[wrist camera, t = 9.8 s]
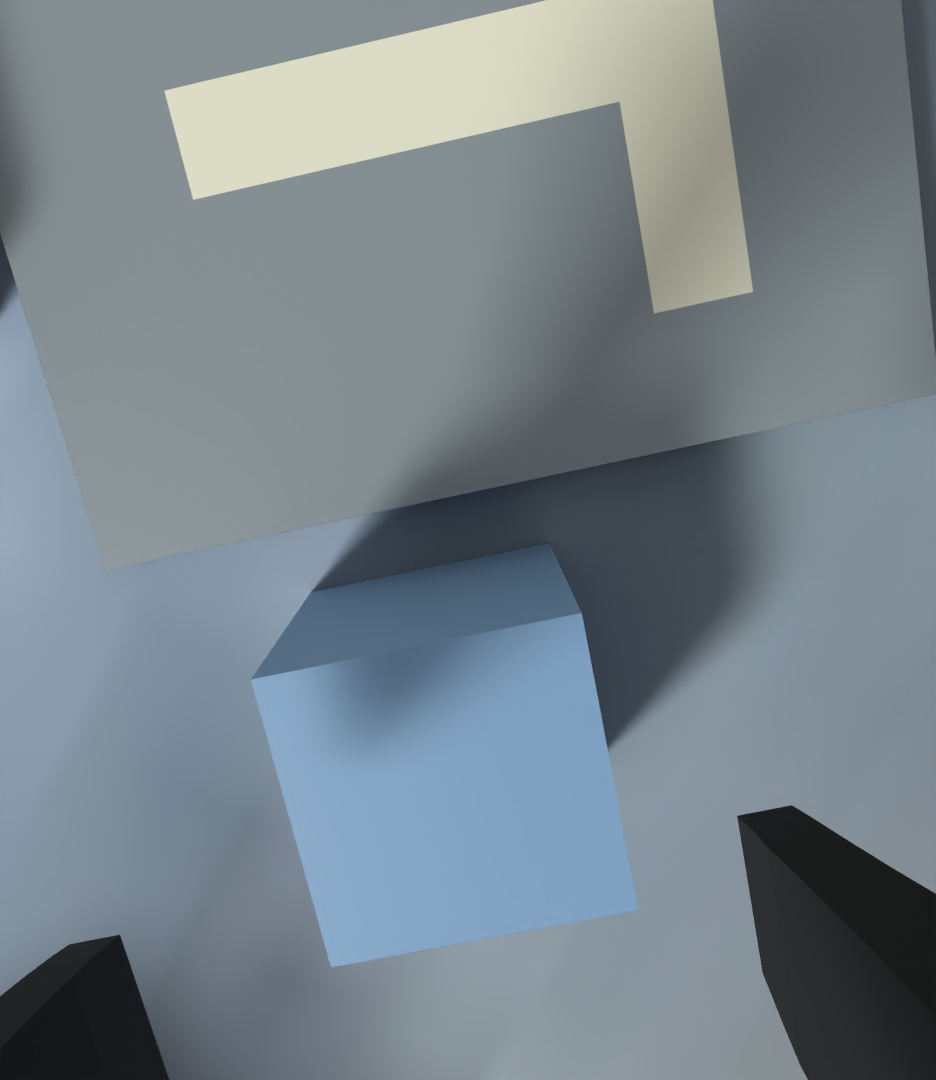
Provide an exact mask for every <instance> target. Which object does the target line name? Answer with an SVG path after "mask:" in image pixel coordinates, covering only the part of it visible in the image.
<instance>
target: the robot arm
mask: <svg viewBox="0 0 936 1080" xmlns="http://www.w3.org/2000/svg"><path fill="white" fill-rule="evenodd" d="M737 817H738V823H739V829H740V835H741V842H742V848H743V854H744V860H745V866H746V873H747V879H748V885H749V891H750V897H751V903H752V910H753V916H754V922H755V928H756V934H757V940H758V947H759V953H760V959H761V965H762V971H763V975H764V977H765V980H766V982H767V985H768V987H769V990H770V992H771V995H772V997H773V1000H774V1002H775V1005H776V1007H777V1010H778V1012H779V1015H780V1017H781V1020H782V1022H783V1025H784V1027H785V1029H786V1032H787V1034H788V1037H789V1039H790V1041H791V1044H792V1046H793V1049H794V1051H795V1054H796V1056H797V1058H798V1061H799V1063H800V1065H801V1067H802V1069H803V1071H804V1073H805V1075H806V1077H807V1079H808V1080H936V894H935V893H933V892H932V891H930V890H928V889H927V888H925V887H923V886H922V885H920V884H918V883H916V882H915V881H913V880H911V879H910V878H908V877H906V876H905V875H903V874H901V873H900V872H898V871H896V870H895V869H893V868H891V867H890V866H888V865H887V864H885V863H883V862H882V861H880V860H878V859H877V858H875V857H874V856H872V855H870V854H869V853H867V852H866V851H864V850H862V849H861V848H859V847H857V846H856V845H854V844H853V843H851V842H849V841H848V840H846V839H845V838H843V837H842V836H840V835H838V834H837V833H835V832H834V831H832V830H831V829H829V828H827V827H826V826H824V825H823V824H821V823H819V822H818V821H816V820H815V819H813V818H812V817H810V816H808V815H807V814H805V813H803V812H802V811H800V810H798V809H797V808H795V807H793V806H792V805H791V806H786V807H781V808H776V809H771V810H765V811H760V812H755V813H750V814H745V815H739V816H737ZM0 1080H169V1078H168V1075H167V1072H166V1069H165V1066H164V1063H163V1060H162V1058H161V1055H160V1052H159V1049H158V1046H157V1043H156V1040H155V1037H154V1034H153V1031H152V1028H151V1025H150V1022H149V1019H148V1016H147V1013H146V1010H145V1007H144V1004H143V1002H142V999H141V996H140V993H139V990H138V987H137V984H136V981H135V978H134V975H133V972H132V969H131V966H130V963H129V960H128V957H127V954H126V951H125V948H124V946H123V943H122V940H121V937H120V935H116V936H111V937H106V938H101V939H95V940H90V941H85V942H80V943H75V944H70V945H68V946H67V947H65V948H64V949H62V950H61V951H59V952H58V953H56V954H55V955H53V956H52V957H51V958H49V959H48V960H46V961H45V962H44V963H42V964H41V965H40V966H38V967H37V968H36V969H34V970H33V971H32V972H31V973H29V974H28V975H27V976H25V977H24V978H23V979H22V980H20V981H19V982H18V983H16V984H15V985H14V986H13V987H11V988H10V989H9V990H8V991H6V992H5V993H4V994H3V995H1V996H0Z"/></svg>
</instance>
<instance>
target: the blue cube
mask: <svg viewBox="0 0 936 1080" xmlns="http://www.w3.org/2000/svg"><path fill="white" fill-rule="evenodd" d="M251 682H252V686H253V689H254V693H255V696H256V700H257V703H258V707H259V711H260V714H261V718H262V721H263V725H264V729H265V732H266V736H267V739H268V743H269V746H270V750H271V754H272V757H273V761H274V764H275V768H276V772H277V775H278V779H279V782H280V786H281V789H282V793H283V797H284V800H285V804H286V807H287V811H288V815H289V818H290V822H291V825H292V829H293V832H294V836H295V840H296V843H297V847H298V850H299V854H300V858H301V861H302V865H303V868H304V872H305V876H306V879H307V883H308V886H309V890H310V893H311V897H312V901H313V904H314V908H315V911H316V915H317V919H318V922H319V926H320V929H321V933H322V936H323V940H324V944H325V947H326V951H327V954H328V958H329V962H330V965H331V967H336V966H341V965H346V964H352V963H357V962H363V961H368V960H373V959H379V958H384V957H389V956H395V955H400V954H406V953H411V952H416V951H422V950H427V949H432V948H438V947H443V946H449V945H454V944H459V943H465V942H470V941H476V940H481V939H486V938H492V937H497V936H502V935H508V934H513V933H519V932H524V931H529V930H535V929H540V928H545V927H551V926H556V925H562V924H567V923H572V922H578V921H583V920H588V919H594V918H599V917H605V916H610V915H615V914H621V913H626V912H632V911H637V910H638V906H637V901H636V896H635V890H634V885H633V880H632V875H631V869H630V864H629V859H628V853H627V848H626V843H625V838H624V832H623V827H622V822H621V817H620V811H619V806H618V801H617V796H616V790H615V785H614V780H613V775H612V769H611V764H610V759H609V754H608V748H607V743H606V738H605V733H604V727H603V722H602V717H601V711H600V706H599V701H598V696H597V690H596V685H595V680H594V675H593V669H592V664H591V659H590V654H589V648H588V643H587V638H586V633H585V627H584V622H583V617H582V612H581V610H580V608H579V606H578V604H577V602H576V599H575V597H574V595H573V593H572V591H571V589H570V586H569V584H568V582H567V580H566V578H565V576H564V573H563V571H562V569H561V567H560V565H559V563H558V560H557V558H556V556H555V554H554V552H553V550H552V547H551V545H550V543H547V544H542V545H538V546H533V547H528V548H523V549H518V550H513V551H508V552H503V553H499V554H494V555H489V556H484V557H479V558H474V559H469V560H464V561H460V562H455V563H450V564H445V565H440V566H435V567H430V568H425V569H421V570H416V571H411V572H406V573H401V574H396V575H391V576H386V577H382V578H377V579H372V580H367V581H362V582H357V583H352V584H347V585H343V586H338V587H333V588H328V589H323V590H318V591H313V592H311V593H310V594H309V596H308V597H307V599H306V600H305V602H304V603H303V605H302V606H301V608H300V609H299V610H298V612H297V613H296V615H295V616H294V618H293V619H292V621H291V622H290V624H289V625H288V626H287V628H286V629H285V631H284V632H283V634H282V635H281V637H280V638H279V639H278V641H277V642H276V644H275V645H274V647H273V648H272V650H271V651H270V653H269V654H268V655H267V657H266V658H265V660H264V661H263V663H262V664H261V666H260V667H259V669H258V670H257V671H256V673H255V674H254V676H253V677H252V679H251Z"/></svg>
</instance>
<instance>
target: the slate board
mask: <svg viewBox="0 0 936 1080" xmlns="http://www.w3.org/2000/svg"><path fill="white" fill-rule="evenodd" d="M0 235H1V238H2V241H3V244H4V247H5V251H6V254H7V257H8V260H9V263H10V267H11V270H12V273H13V276H14V279H15V283H16V286H17V289H18V292H19V296H20V299H21V302H22V305H23V308H24V312H25V315H26V318H27V321H28V324H29V328H30V331H31V334H32V337H33V340H34V344H35V347H36V350H37V353H38V356H39V360H40V363H41V366H42V369H43V372H44V376H45V379H46V382H47V385H48V389H49V392H50V395H51V398H52V401H53V405H54V408H55V411H56V414H57V417H58V421H59V424H60V427H61V430H62V433H63V437H64V440H65V443H66V446H67V449H68V453H69V456H70V459H71V462H72V466H73V469H74V472H75V475H76V478H77V482H78V485H79V488H80V491H81V494H82V498H83V501H84V504H85V507H86V510H87V514H88V517H89V520H90V523H91V526H92V530H93V533H94V536H95V539H96V543H97V546H98V549H99V552H100V555H101V559H102V562H103V565H104V568H105V570H107V569H112V568H117V567H121V566H126V565H131V564H136V563H140V562H145V561H150V560H155V559H159V558H164V557H169V556H173V555H178V554H183V553H188V552H192V551H197V550H202V549H206V548H211V547H216V546H221V545H225V544H230V543H235V542H240V541H244V540H249V539H254V538H258V537H263V536H268V535H273V534H277V533H282V532H287V531H291V530H296V529H301V528H306V527H310V526H315V525H320V524H325V523H329V522H334V521H339V520H343V519H348V518H353V517H358V516H362V515H367V514H372V513H376V512H381V511H386V510H391V509H395V508H400V507H405V506H410V505H414V504H419V503H424V502H428V501H433V500H438V499H443V498H447V497H452V496H457V495H462V494H466V493H471V492H476V491H480V490H485V489H490V488H495V487H499V486H504V485H509V484H513V483H518V482H523V481H528V480H532V479H537V478H542V477H547V476H551V475H556V474H561V473H565V472H570V471H575V470H580V469H584V468H589V467H594V466H598V465H603V464H608V463H613V462H617V461H622V460H627V459H632V458H636V457H641V456H646V455H650V454H655V453H660V452H665V451H669V450H674V449H679V448H683V447H688V446H693V445H698V444H702V443H707V442H712V441H717V440H721V439H726V438H731V437H735V436H740V435H745V434H750V433H754V432H759V431H764V430H768V429H773V428H778V427H783V426H787V425H792V424H797V423H802V422H806V421H811V420H816V419H820V418H825V417H830V416H835V415H839V414H844V413H849V412H854V411H858V410H863V409H868V408H872V407H877V406H882V405H887V404H891V403H896V402H901V401H905V400H910V399H915V398H920V397H924V396H929V395H934V394H936V354H935V344H934V334H933V323H932V313H931V303H930V292H929V282H928V272H927V261H926V251H925V241H924V230H923V220H922V210H921V199H920V189H919V179H918V168H917V158H916V148H915V137H914V127H913V117H912V106H911V96H910V86H909V75H908V65H907V55H906V44H905V34H904V24H903V13H902V3H901V0H0Z"/></svg>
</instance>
